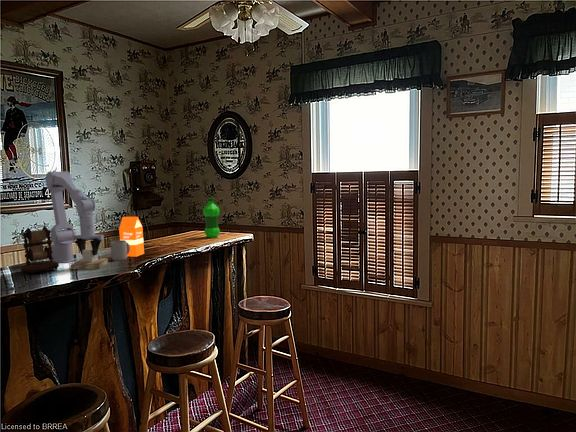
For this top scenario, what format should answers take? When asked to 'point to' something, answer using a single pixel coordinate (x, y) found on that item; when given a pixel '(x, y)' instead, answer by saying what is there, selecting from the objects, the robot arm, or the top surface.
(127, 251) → the cup
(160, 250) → the top surface
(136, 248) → the orange juice
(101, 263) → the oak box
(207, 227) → the plastic bottle
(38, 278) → the top surface
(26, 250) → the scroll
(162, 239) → the top surface
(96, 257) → the ceramic block
